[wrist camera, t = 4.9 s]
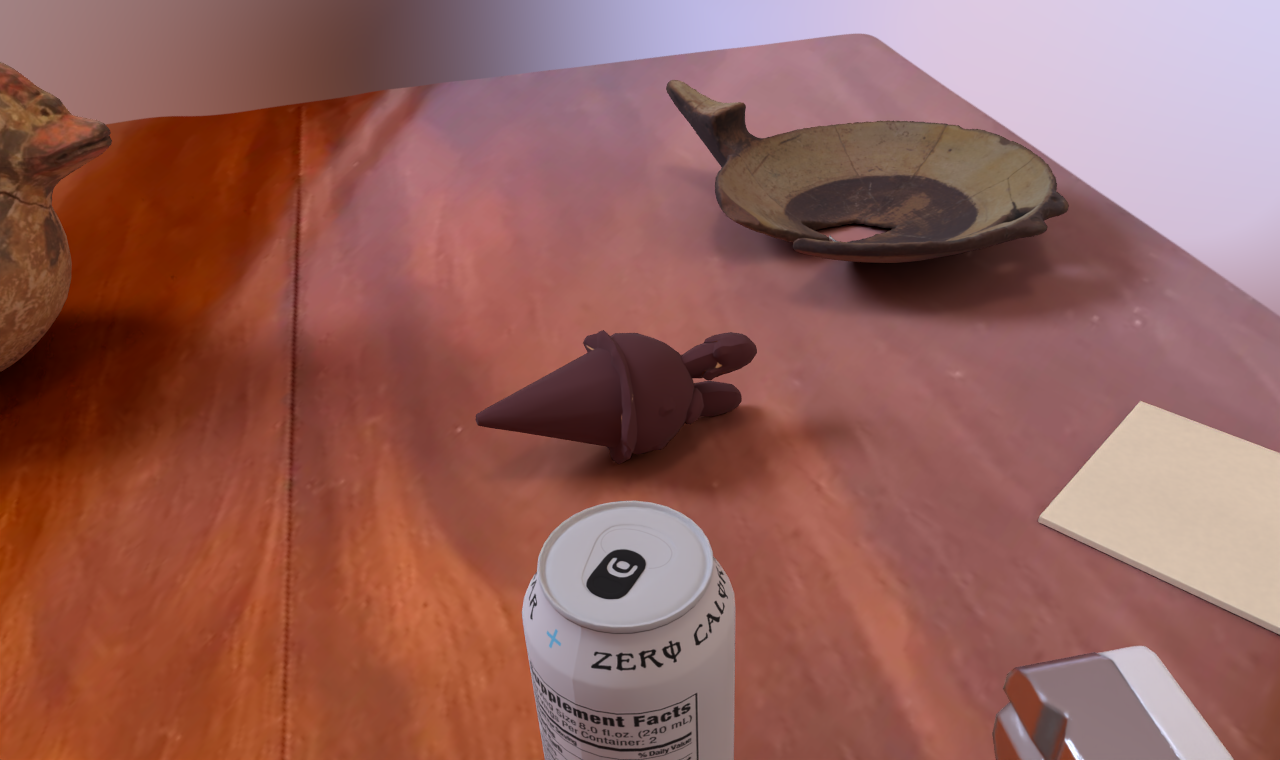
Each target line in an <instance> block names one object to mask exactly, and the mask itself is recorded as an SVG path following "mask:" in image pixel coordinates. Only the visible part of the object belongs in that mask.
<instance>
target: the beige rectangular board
mask: <svg viewBox="0 0 1280 760" xmlns="http://www.w3.org/2000/svg"><path fill="white" fill-rule="evenodd" d="M1038 522H1039V523H1042V524H1044V525H1046V526H1048V527H1050V528H1052V529H1054V530H1056V531H1059V532H1061V533H1063V534H1065V535H1067V536H1069V537H1071V538H1074V539H1076V540H1078V541H1080V542H1082V543H1084V544H1086V545H1089V546H1091V547H1093V548H1095V549H1097V550H1099V551H1101V552H1104V553H1106V554H1108V555H1110V556H1112V557H1114V558H1116V559H1118V560H1121V561H1123V562H1125V563H1127V564H1129V565H1131V566H1133V567H1136V568H1138V569H1140V570H1142V571H1144V572H1146V573H1148V574H1151V575H1153V576H1155V577H1157V578H1159V579H1161V580H1163V581H1166V582H1168V583H1170V584H1172V585H1174V586H1176V587H1178V588H1180V589H1183V590H1185V591H1187V592H1189V593H1191V594H1193V595H1195V596H1198V597H1200V598H1202V599H1204V600H1206V601H1208V602H1210V603H1213V604H1215V605H1217V606H1219V607H1221V608H1223V609H1225V610H1228V611H1230V612H1232V613H1234V614H1236V615H1238V616H1240V617H1242V618H1245V619H1247V620H1249V621H1251V622H1253V623H1255V624H1257V625H1260V626H1262V627H1264V628H1266V629H1268V630H1270V631H1272V632H1275V633H1277V634H1279V635H1280V453H1278V452H1275V451H1272V450H1270V449H1267V448H1264V447H1262V446H1259V445H1256V444H1254V443H1251V442H1248V441H1246V440H1243V439H1240V438H1238V437H1235V436H1232V435H1230V434H1227V433H1224V432H1222V431H1219V430H1216V429H1214V428H1211V427H1208V426H1206V425H1203V424H1200V423H1198V422H1195V421H1192V420H1190V419H1187V418H1184V417H1182V416H1179V415H1176V414H1174V413H1171V412H1168V411H1166V410H1163V409H1160V408H1158V407H1155V406H1152V405H1150V404H1147V403H1144V402H1142V401H1140V402H1139V403H1138V404H1137V406H1136V407H1135V408H1134V409H1133V410H1132V411H1131V412H1130V414H1129V415H1128V416H1127V417H1126V418H1125V419H1124V420H1123V422H1122V423H1121V424H1120V425H1119V426H1118V427H1117V428H1116V429H1115V431H1114V432H1113V433H1112V434H1111V435H1110V436H1109V437H1108V439H1107V440H1106V441H1105V442H1104V443H1103V444H1102V445H1101V447H1100V448H1099V449H1098V450H1097V451H1096V452H1095V453H1094V455H1093V456H1092V457H1091V458H1090V459H1089V460H1088V461H1087V463H1086V464H1085V465H1084V466H1083V467H1082V468H1081V469H1080V471H1079V472H1078V473H1077V474H1076V475H1075V476H1074V477H1073V479H1072V480H1071V481H1070V482H1069V483H1068V484H1067V485H1066V487H1065V488H1064V489H1063V490H1062V491H1061V492H1060V493H1059V495H1058V496H1057V497H1056V498H1055V499H1054V500H1053V501H1052V502H1051V504H1050V505H1049V506H1048V507H1047V508H1046V509H1045V510H1044V512H1043V513H1042V514H1041V515H1040V516H1039V520H1038Z"/></svg>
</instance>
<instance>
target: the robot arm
mask: <svg viewBox="0 0 1280 760" xmlns="http://www.w3.org/2000/svg"><path fill="white" fill-rule="evenodd" d="M1003 690H1004V691H1005V693H1006V695H1007V697H1008V699H1009V701H1010V702H1009V703H1008V704H1007V705H1006V706H1005V707H1004V708H1003V709H1002V710H1001V711H1000V712H999V713H997V714H996V719H995V724H994V729H993V734H992V735H993V742H994V750H995V758H996V760H1234V759H1233V758H1232V756H1231V755H1230V754H1229V752H1228V751H1227V750H1226V748H1225V747H1224V745H1223V744H1222V743H1221V741H1220V740H1219V739H1218V737H1217V736H1216V735H1215V733H1214V732H1213V731H1212V729H1211V728H1210V727H1209V725H1208V724H1207V723H1206V721H1205V720H1204V718H1203V717H1202V716H1201V714H1200V713H1199V712H1198V710H1197V709H1196V708H1195V706H1194V705H1193V704H1192V702H1191V701H1190V700H1189V698H1188V697H1187V696H1186V694H1185V693H1184V691H1183V690H1182V689H1181V687H1180V686H1179V685H1178V683H1177V682H1176V681H1175V679H1174V678H1173V677H1172V675H1171V674H1170V673H1169V671H1168V670H1167V669H1166V667H1165V666H1164V664H1163V663H1162V662H1161V660H1160V659H1159V658H1158V656H1157V655H1156V654H1155V653H1154V652H1153V651H1151V650H1150V649H1148V648H1147V647H1145V646H1132V647H1127V648H1122V649H1117V650H1112V651H1107V652H1101V653H1095V652H1094V653H1089V654H1083V655H1078V656H1073V657H1068V658H1063V659H1057V660H1052V661H1047V662H1042V663H1037V664H1031V665H1026V666H1021V667H1016V668H1014V669H1013V670H1012V671H1010V672H1009V673H1008V674H1007V677H1006V681H1005V684H1004V688H1003Z"/></svg>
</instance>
